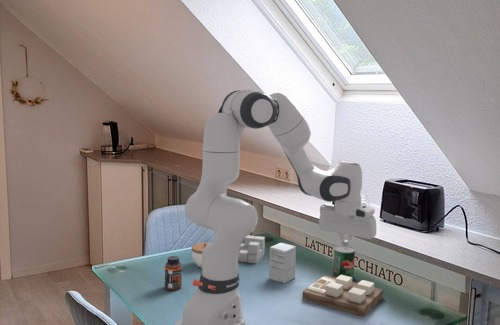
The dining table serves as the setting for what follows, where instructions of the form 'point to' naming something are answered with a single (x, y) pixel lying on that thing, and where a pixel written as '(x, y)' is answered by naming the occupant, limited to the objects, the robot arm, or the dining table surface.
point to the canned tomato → (343, 261)
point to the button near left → (334, 289)
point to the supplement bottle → (173, 273)
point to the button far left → (344, 281)
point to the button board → (340, 297)
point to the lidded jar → (198, 253)
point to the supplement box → (282, 262)
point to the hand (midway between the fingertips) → (345, 246)
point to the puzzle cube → (252, 249)
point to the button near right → (356, 295)
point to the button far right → (366, 286)
